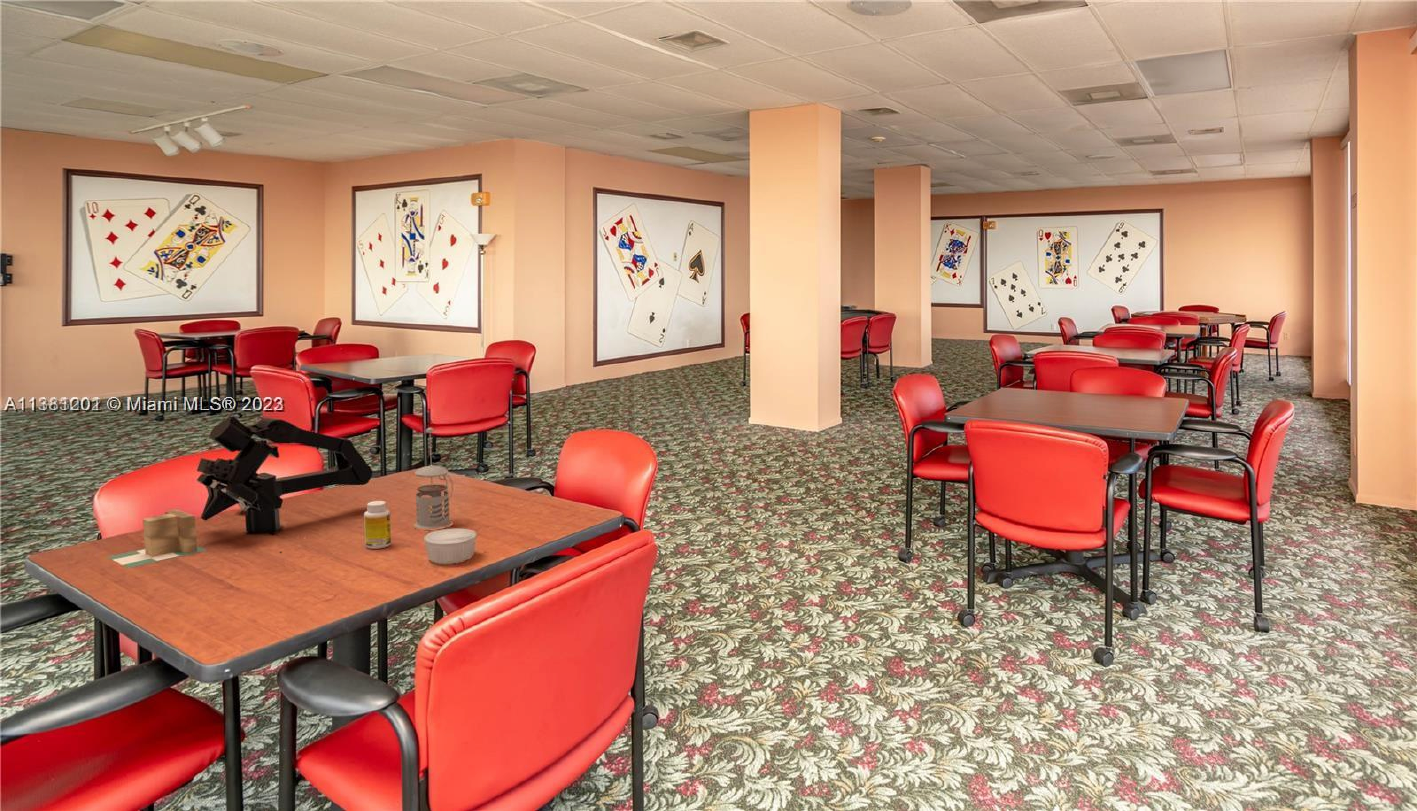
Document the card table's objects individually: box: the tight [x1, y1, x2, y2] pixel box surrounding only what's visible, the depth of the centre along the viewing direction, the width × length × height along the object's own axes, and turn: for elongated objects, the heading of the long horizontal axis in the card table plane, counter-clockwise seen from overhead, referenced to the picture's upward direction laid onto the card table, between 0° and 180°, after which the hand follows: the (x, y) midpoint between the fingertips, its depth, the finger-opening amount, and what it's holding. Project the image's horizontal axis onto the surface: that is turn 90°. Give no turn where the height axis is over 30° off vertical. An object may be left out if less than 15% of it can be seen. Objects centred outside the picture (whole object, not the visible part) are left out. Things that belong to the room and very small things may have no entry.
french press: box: [413, 427, 454, 529], centre depth 210 cm, size 10×12×25 cm
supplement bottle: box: [363, 500, 392, 550], centre depth 193 cm, size 6×6×10 cm
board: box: [107, 545, 207, 569], centre depth 185 cm, size 16×12×1 cm
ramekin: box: [423, 528, 478, 565], centre depth 185 cm, size 11×11×5 cm
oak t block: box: [142, 509, 198, 557], centre depth 187 cm, size 8×9×8 cm
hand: (203, 519), depth 192 cm, fingers closed
